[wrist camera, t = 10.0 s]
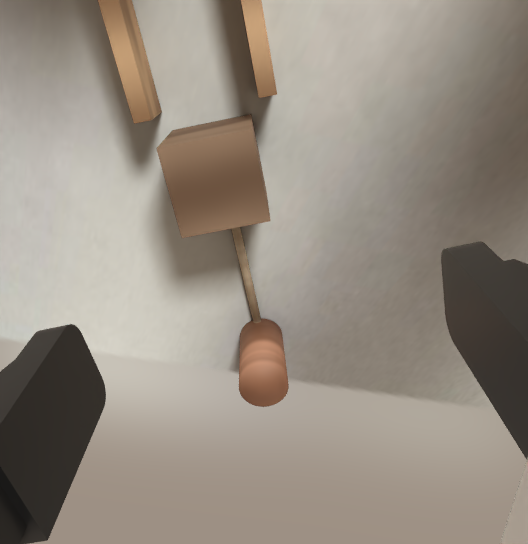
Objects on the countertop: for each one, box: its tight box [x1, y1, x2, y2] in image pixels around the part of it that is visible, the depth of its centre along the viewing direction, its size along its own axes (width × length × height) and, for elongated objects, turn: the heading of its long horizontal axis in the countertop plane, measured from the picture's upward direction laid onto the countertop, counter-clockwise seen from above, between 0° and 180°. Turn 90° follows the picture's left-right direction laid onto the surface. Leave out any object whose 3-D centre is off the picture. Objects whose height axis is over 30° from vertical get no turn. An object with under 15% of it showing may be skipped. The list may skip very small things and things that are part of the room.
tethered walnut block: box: [157, 114, 288, 407], centre depth 31 cm, size 18×5×6 cm, turn 11°
